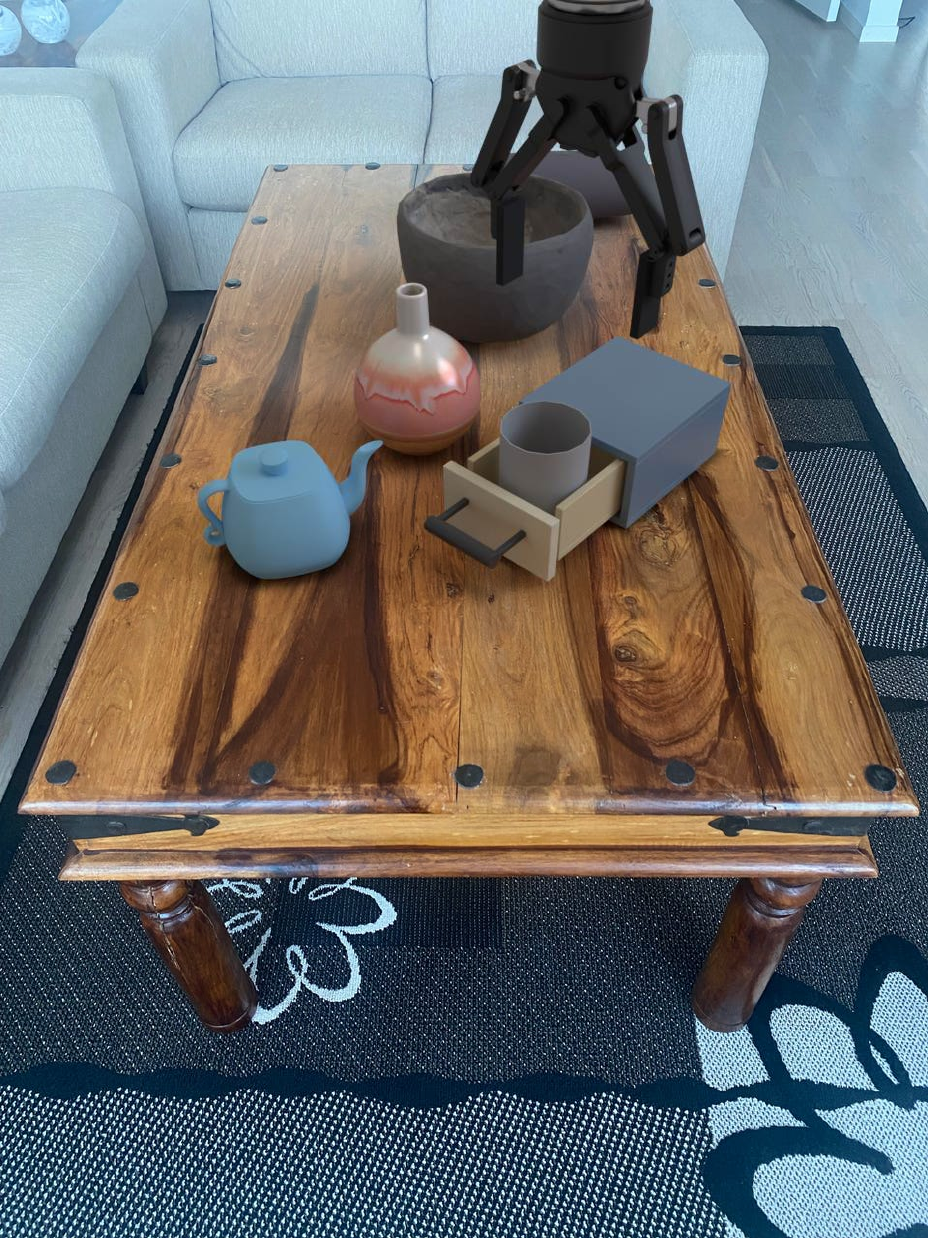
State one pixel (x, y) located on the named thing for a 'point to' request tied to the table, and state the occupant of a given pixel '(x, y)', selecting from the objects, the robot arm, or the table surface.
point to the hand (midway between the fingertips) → (573, 304)
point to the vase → (416, 382)
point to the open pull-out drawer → (523, 512)
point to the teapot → (285, 508)
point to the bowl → (493, 257)
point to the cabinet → (643, 416)
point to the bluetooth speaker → (585, 181)
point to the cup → (544, 452)
